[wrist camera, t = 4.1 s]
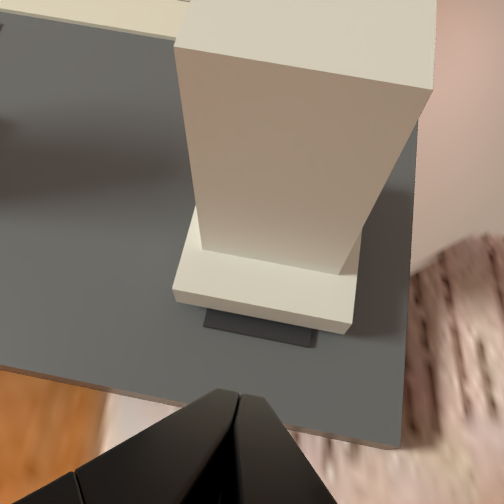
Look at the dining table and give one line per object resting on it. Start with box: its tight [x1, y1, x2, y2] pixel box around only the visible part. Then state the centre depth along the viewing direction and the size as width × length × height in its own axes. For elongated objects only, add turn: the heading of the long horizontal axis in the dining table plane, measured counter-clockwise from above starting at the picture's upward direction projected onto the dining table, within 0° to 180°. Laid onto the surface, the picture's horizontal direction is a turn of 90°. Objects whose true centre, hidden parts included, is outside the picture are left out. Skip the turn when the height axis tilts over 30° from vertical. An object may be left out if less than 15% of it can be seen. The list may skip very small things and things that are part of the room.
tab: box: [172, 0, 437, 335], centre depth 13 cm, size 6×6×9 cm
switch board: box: [0, 0, 418, 450], centre depth 20 cm, size 18×26×2 cm
